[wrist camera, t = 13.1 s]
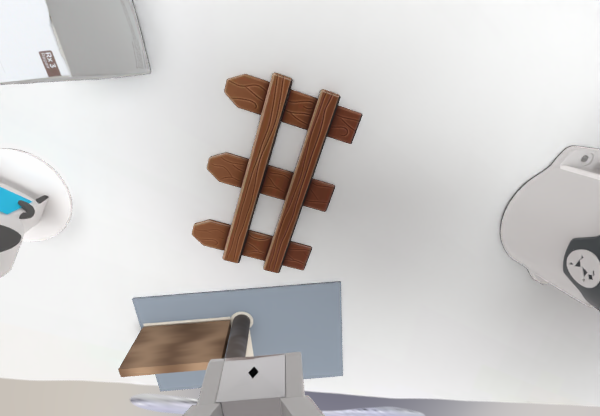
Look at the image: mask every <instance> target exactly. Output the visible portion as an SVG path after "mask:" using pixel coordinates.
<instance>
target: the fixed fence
mask: <svg viewBox="0 0 600 416" xmlns="http://www.w3.org/2000/svg"><path fill="white" fill-rule="evenodd" d="M249 328H250V318H249V317H248V316H246V315H243V314H240V315H237V316H235V317H234V319H233V323H232V328H231V323H230V320H227V321H215V322H203V323H190V324H178V325H166V326H154V327H143V328H142V330H141V331H140V333H139V335H138V336H137V338H136V340H135V342H134V343H133V345H132V347H131V349H130V350H129V352H128V354H127V356H126V357H125V359H124V361H123V362H122V364H121V366H120V368H119V369H118V370H119V372H120V375H121V377H127V376H139V375H151V374H163V373H175V372H187V371H199V370H206V369H207V366H208V363H209V361H210V360H211V359H223V358H234V357H245V356H246V349H247V342H248V335H249ZM230 331H231V333H230ZM229 335H230V337H229ZM228 340H229V342H228ZM227 345H228V346H227ZM226 349H227V351H226ZM225 354H226V356H225Z"/></svg>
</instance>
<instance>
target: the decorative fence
mask: <svg viewBox="0 0 600 416" xmlns="http://www.w3.org/2000/svg"><path fill="white" fill-rule="evenodd" d="M292 81H293V80H292V78H289V77H286V76H283V75H281V74H278V73H273V74H272V77H271V81H270V82H268V81H265V80H262V79H259V78H256V77H253V76H250V75H247V74H243V75H239V76H236V77H232V78H229V79H227V81H226V86H225V90H224V92H225V94H226V95H227V96H228V97H229V98H230V100H231V101H232V102H233V103H234V104H235V105H236V106H237V107H238V108H241V109H244V110H247V111H250V112H254V113H257V114H260V115H261V118H260V121H259V125H258V129H257V132H256V136H255V140H254V144H253V147H252V151H251V155H250V158H249V159H247V158H243V157H240V156H237V155H233V154H230V153H222V154H219V155H215V156H211V157H210V158H209V160H208V165H207V170H208V171H209V172H210V173H211V174H212V175H213V176H214V177H215V178H216V179H217V180H218V181H219V182H222V183H226V184H229V185H233V186H236V187H240V188H241V191H240V195H239V199H238V202H237V206H236V210H235V213H234V217H233V221H232V224H231V225H229V224H225V223H221V222H217V221H214V220H206V221H202V222H199V223H195V224H194V226H193V230H192V235H193V236H194V237H195V238H196V239H197V240H198V241H199V242H200V243H201V244H203V245H204V246H208V247H212V248H216V249H220V250H224V254H223V260H227V261H231V262H235V263H239V262H240V258H241V255H244V256H248V257H252V258H256V259H260V260H264V261H265V263H264V266H263V269H264V270H267V271H271V272H275V273H279V272H280V270H281V267H282V265H284V266H287V267H291V268H295V269H299V270H304V268H305V266H306V263H307V260H308V258H309V255H310V253H311V250H312V247H310V246H307V245H303V244H299V243H296V242H292V241H291V238H292V235H293V232H294V229H295V226H296V224H297V221H298V218H299V215H300V212H301V209H302V206H307V207H310V208H314V209H317V210H321V211H324V212H325V211H326V210H327V207H328V205H329V202H330V199H331V197H332V194H333V191H334V189H335V186H334V185H333V184H329V183H326V182H323V181H319V180H316V179H313V178H312V177H313V175H314V172H315V169H316V166H317V163H318V160H319V157H320V154H321V152H322V149H323V146H324V143H325V140H326V137H331V138H334V139H337V140H340V141H343V142H346V143H349V144H351V143H352V141H353V138H354V136H355V133H356V130H357V128H358V125H359V122H360V120H361V117H362V114H361V113H358V112H355V111H352V110H350V109H347V108H344V107H341V106H338V103H339V100H340V95H338V94H335V93H332V92H329V91H327V90H324V89H323V90H321V91H320V94H319V97H318V99H317V98H315V97H312V96H309V95H306V94H303V93H300V92H297V91H294V90H291V89H290V88H291V85H292ZM280 122H284V123H287V124H290V125H294V126H297V127H300V128H303V129H306V130H308V131H307V134H306V137H305V140H304V143H303V146H302V149H301V153H300V156H299V159H298V162H297V165H296V168H295V171H294V173H293V172H290V171H286V170H283V169H280V168H276V167H273V166H270V165H268V163H269V160H270V156H271V153H272V150H273V146H274V143H275V139H276V136H277V133H278V129H279V126H280ZM260 193H261V194H264V195H268V196H271V197H275V198H278V199H282V200H285V202H284V205H283V208H282V211H281V214H280V217H279V220H278V223H277V226H276V229H275V232H274V236H270V235H266V234H262V233H258V232H255V231H251V230H249V228H250V224H251V221H252V218H253V214H254V211H255V207H256V204H257V201H258V197H259V194H260Z"/></svg>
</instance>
